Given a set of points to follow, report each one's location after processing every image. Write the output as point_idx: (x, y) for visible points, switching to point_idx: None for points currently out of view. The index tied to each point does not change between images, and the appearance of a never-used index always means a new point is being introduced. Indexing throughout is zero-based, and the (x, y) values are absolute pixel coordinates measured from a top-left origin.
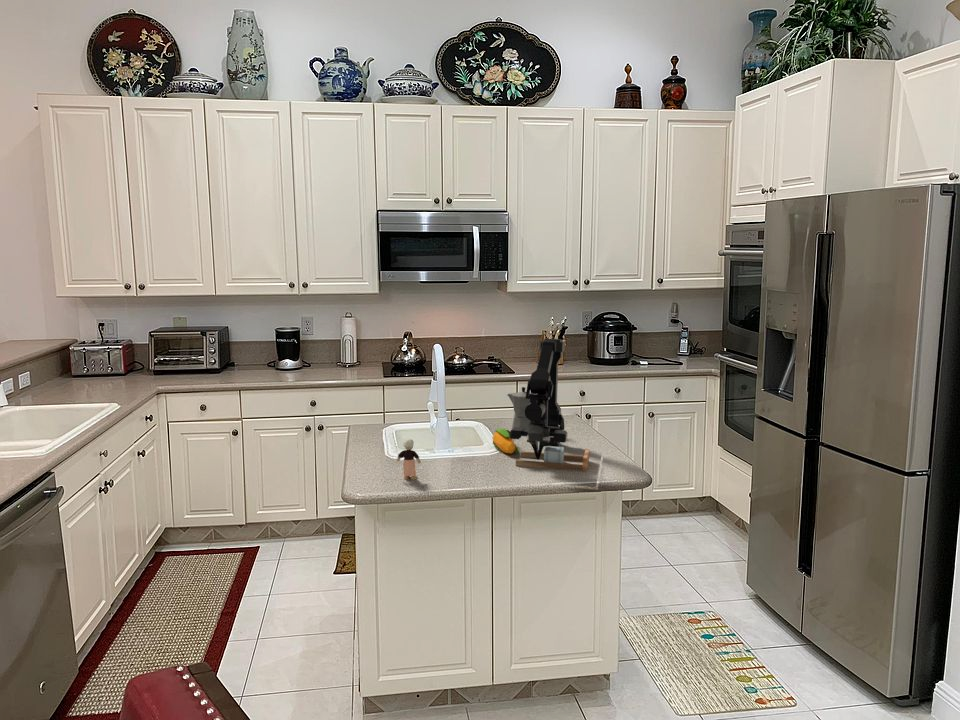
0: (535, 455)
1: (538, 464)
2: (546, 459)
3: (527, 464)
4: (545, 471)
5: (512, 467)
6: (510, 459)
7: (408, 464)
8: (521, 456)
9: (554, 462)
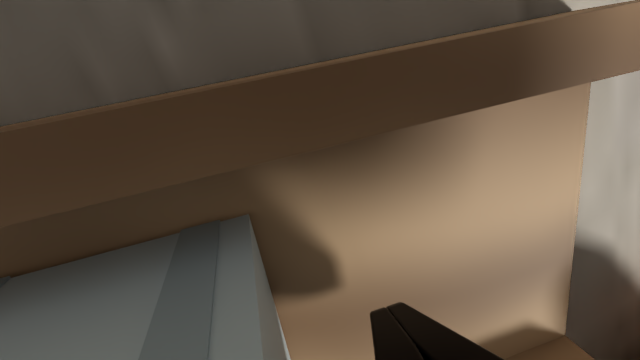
0: (454, 332)
1: (294, 70)
2: (196, 282)
3: (477, 32)
4: (144, 44)
5: None
6: (626, 274)
7: None
8: (568, 348)
9: (33, 303)
